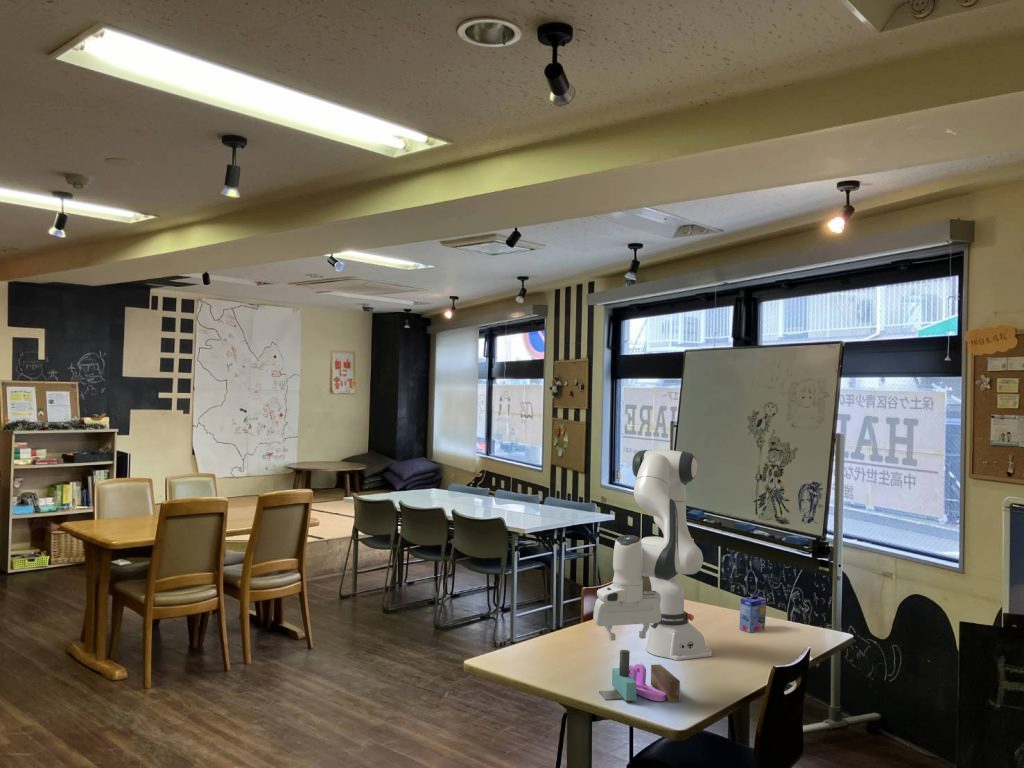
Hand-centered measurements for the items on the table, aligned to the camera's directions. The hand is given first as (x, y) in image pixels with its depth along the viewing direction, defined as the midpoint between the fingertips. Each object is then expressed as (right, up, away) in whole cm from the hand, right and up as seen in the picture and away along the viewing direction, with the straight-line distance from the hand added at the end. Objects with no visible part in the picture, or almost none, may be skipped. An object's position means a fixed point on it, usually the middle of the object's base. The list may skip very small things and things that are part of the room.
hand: (627, 638), depth 220 cm
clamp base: (+2, -16, 0) cm, 16 cm away
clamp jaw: (-1, -16, -1) cm, 16 cm away
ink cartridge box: (+60, -21, +70) cm, 94 cm away
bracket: (+6, -17, 0) cm, 17 cm away
